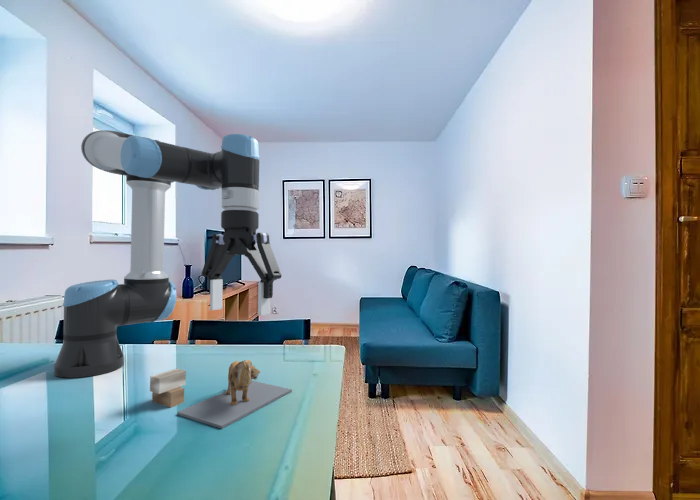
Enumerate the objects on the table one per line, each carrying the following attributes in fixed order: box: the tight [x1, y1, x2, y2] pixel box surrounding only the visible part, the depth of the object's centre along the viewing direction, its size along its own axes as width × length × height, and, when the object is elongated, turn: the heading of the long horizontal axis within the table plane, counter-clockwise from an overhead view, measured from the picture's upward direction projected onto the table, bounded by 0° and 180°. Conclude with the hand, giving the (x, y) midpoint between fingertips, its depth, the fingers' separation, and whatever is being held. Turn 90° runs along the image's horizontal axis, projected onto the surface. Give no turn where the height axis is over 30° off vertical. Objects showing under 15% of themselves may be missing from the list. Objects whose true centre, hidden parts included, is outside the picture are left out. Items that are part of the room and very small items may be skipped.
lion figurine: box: [225, 359, 261, 405], centre depth 77 cm, size 15×5×9 cm, turn 34°
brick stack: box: [149, 368, 187, 408], centre depth 76 cm, size 6×6×6 cm
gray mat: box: [176, 380, 293, 430], centre depth 76 cm, size 12×20×1 cm, turn 152°
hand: (239, 312), depth 76 cm, fingers open, 13 cm apart
